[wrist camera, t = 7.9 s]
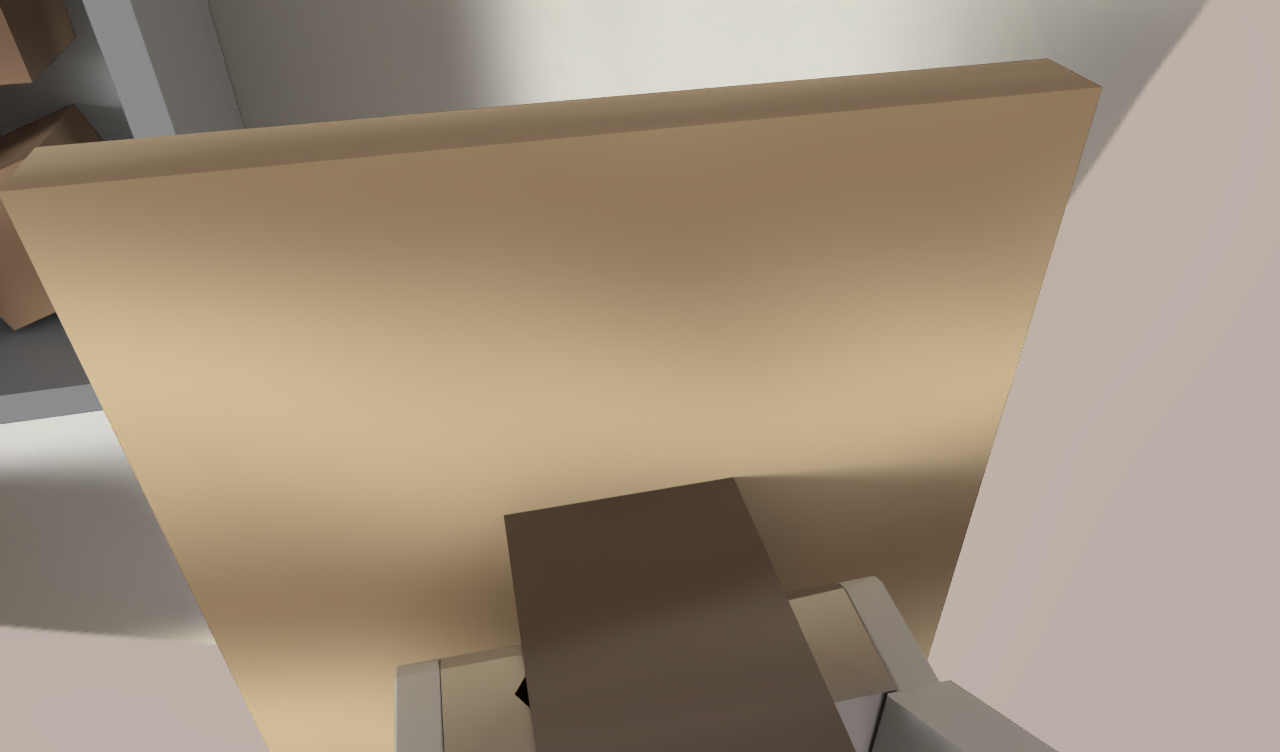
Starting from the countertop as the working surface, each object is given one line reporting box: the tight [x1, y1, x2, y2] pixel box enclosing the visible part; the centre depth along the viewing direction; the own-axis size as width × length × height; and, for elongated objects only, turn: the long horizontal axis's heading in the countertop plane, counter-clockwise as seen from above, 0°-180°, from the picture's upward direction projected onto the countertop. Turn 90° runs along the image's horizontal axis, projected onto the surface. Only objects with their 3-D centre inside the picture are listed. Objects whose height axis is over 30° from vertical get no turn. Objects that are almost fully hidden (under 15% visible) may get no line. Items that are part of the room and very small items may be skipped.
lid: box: [0, 59, 1102, 752], centre depth 11 cm, size 13×11×6 cm
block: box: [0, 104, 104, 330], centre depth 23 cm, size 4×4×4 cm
